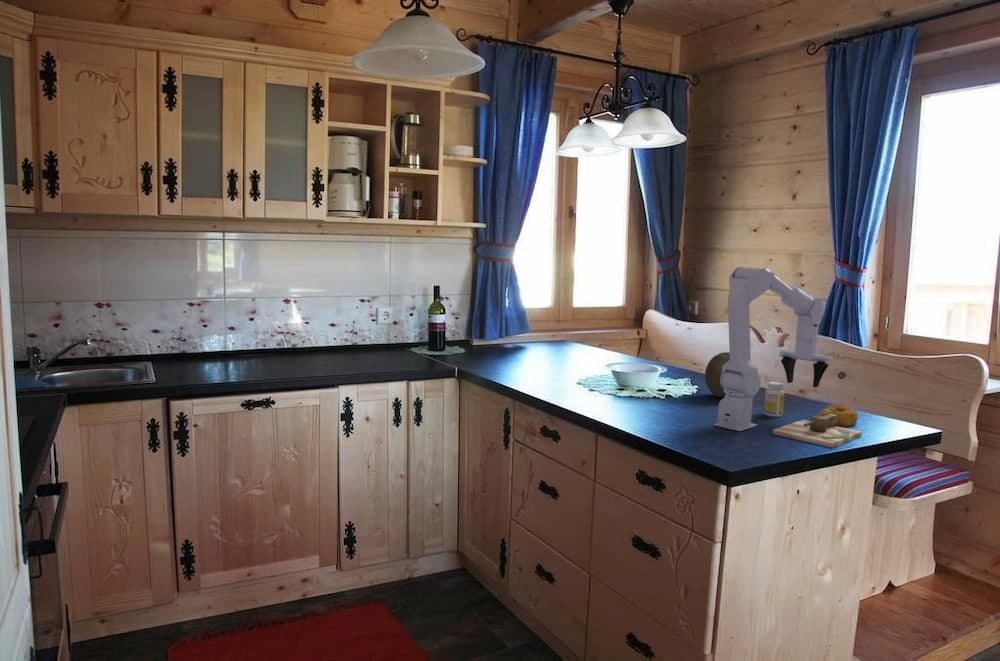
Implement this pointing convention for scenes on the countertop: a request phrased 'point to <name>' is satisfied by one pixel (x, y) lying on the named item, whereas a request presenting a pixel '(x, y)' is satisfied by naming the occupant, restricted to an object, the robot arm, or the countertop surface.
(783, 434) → the board
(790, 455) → the countertop surface
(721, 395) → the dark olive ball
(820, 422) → the brown elongated piece
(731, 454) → the countertop surface
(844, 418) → the bagel
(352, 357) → the countertop surface
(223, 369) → the countertop surface
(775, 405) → the supplement bottle
